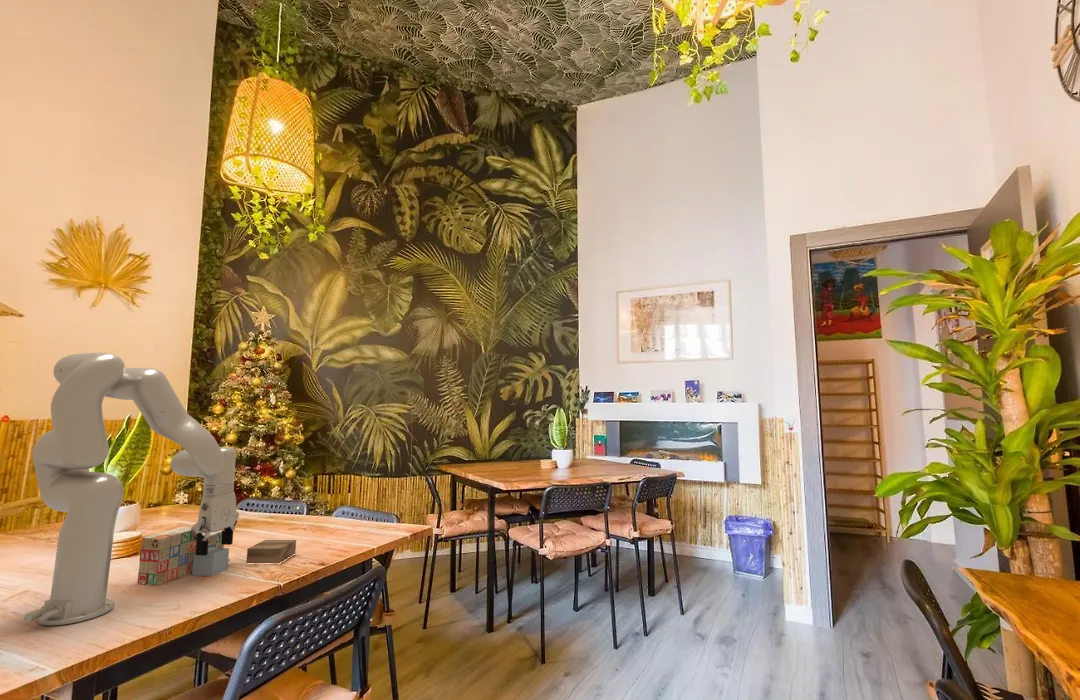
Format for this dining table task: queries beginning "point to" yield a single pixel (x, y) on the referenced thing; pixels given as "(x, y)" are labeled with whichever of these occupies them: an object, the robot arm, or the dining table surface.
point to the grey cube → (211, 562)
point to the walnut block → (271, 551)
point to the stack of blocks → (170, 554)
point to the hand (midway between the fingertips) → (214, 549)
